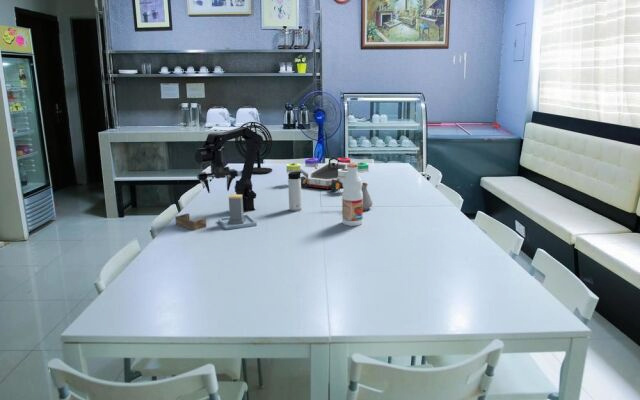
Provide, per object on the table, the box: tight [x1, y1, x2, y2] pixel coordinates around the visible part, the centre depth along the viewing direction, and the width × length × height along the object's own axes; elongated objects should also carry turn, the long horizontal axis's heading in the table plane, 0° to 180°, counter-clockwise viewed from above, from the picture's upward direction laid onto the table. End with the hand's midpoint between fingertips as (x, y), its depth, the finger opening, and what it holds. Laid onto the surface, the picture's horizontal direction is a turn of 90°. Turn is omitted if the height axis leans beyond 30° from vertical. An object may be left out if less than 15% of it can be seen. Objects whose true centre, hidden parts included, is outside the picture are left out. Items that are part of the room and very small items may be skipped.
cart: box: [286, 157, 369, 192], centre depth 318 cm, size 45×39×16 cm
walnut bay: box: [174, 213, 207, 231], centre depth 240 cm, size 7×14×4 cm, turn 49°
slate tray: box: [217, 214, 258, 231], centre depth 243 cm, size 15×15×2 cm
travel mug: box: [287, 171, 302, 212], centre depth 261 cm, size 6×7×20 cm
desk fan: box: [234, 121, 273, 175], centre depth 352 cm, size 27×18×35 cm, turn 74°
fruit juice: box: [341, 162, 364, 227], centre depth 237 cm, size 9×9×28 cm
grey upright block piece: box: [228, 194, 246, 224], centre depth 241 cm, size 6×7×13 cm
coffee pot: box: [331, 179, 374, 211], centre depth 263 cm, size 21×12×15 cm, turn 79°
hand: (218, 191), depth 249 cm, fingers open, 9 cm apart
